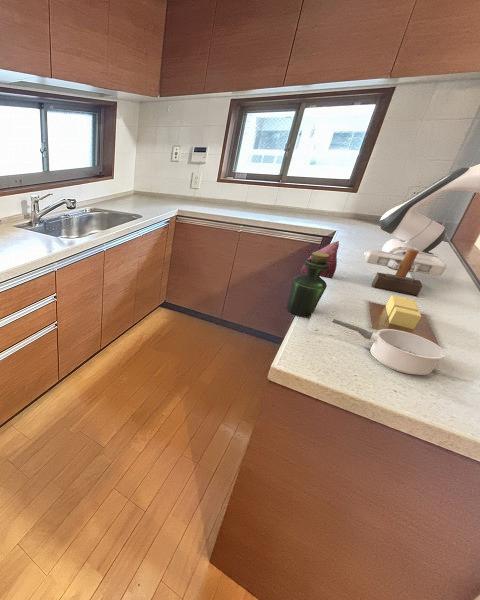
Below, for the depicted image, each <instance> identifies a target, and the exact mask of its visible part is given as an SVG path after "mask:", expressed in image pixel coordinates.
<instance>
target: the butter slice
mask: <svg viewBox="0 0 480 600" xmlns="http://www.w3.org/2000/svg"><path fill="white" fill-rule="evenodd" d="M421 314H422V313H421V312H420V311H418V312H416V311H412V310H408V309H403V308H399V307H395V308H394V310H393V311H392V313H391V315H390V317H389V323H390V324H394V325H398V326H402V327H406V328H410V329H414V328H415V327H416V325H417V323H418V322H419V320H420V318H421Z"/></svg>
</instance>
